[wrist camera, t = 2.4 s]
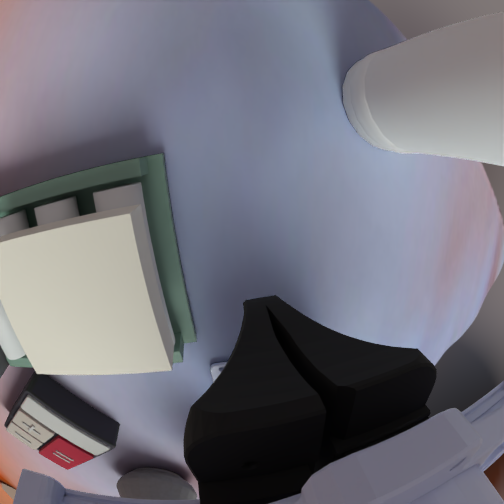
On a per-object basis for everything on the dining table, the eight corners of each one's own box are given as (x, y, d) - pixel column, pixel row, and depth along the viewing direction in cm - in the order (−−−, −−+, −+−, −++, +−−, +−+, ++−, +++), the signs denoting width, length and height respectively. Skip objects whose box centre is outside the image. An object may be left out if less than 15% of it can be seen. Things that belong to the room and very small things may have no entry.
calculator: (1, 429, 19) (22, 394, 17) (11, 408, 23) (38, 365, 21) (69, 473, 23) (115, 453, 21) (74, 450, 27) (121, 422, 25)
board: (140, 204, 14) (130, 213, 12) (174, 345, 17) (172, 370, 15) (3, 235, 13) (-18, 247, 11) (48, 353, 16) (37, 373, 14)
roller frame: (163, 153, 17) (139, 153, 10) (196, 335, 22) (198, 404, 15) (-36, 211, 15) (-89, 236, 8) (11, 347, 20) (-20, 394, 13)
